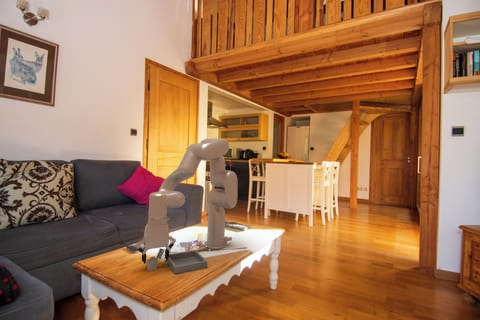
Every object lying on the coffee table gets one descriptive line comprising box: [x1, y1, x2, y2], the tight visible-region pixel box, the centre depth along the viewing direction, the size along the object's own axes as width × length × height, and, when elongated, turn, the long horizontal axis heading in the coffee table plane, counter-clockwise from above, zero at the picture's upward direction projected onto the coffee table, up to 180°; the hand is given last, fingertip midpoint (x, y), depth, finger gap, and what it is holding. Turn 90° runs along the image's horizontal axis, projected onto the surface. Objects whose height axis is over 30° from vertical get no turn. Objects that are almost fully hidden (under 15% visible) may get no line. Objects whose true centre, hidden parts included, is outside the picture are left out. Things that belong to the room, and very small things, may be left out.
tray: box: [165, 249, 208, 275], centre depth 114 cm, size 15×15×3 cm
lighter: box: [146, 247, 165, 272], centre depth 109 cm, size 7×2×8 cm, turn 136°
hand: (155, 260), depth 109 cm, fingers open, 8 cm apart
